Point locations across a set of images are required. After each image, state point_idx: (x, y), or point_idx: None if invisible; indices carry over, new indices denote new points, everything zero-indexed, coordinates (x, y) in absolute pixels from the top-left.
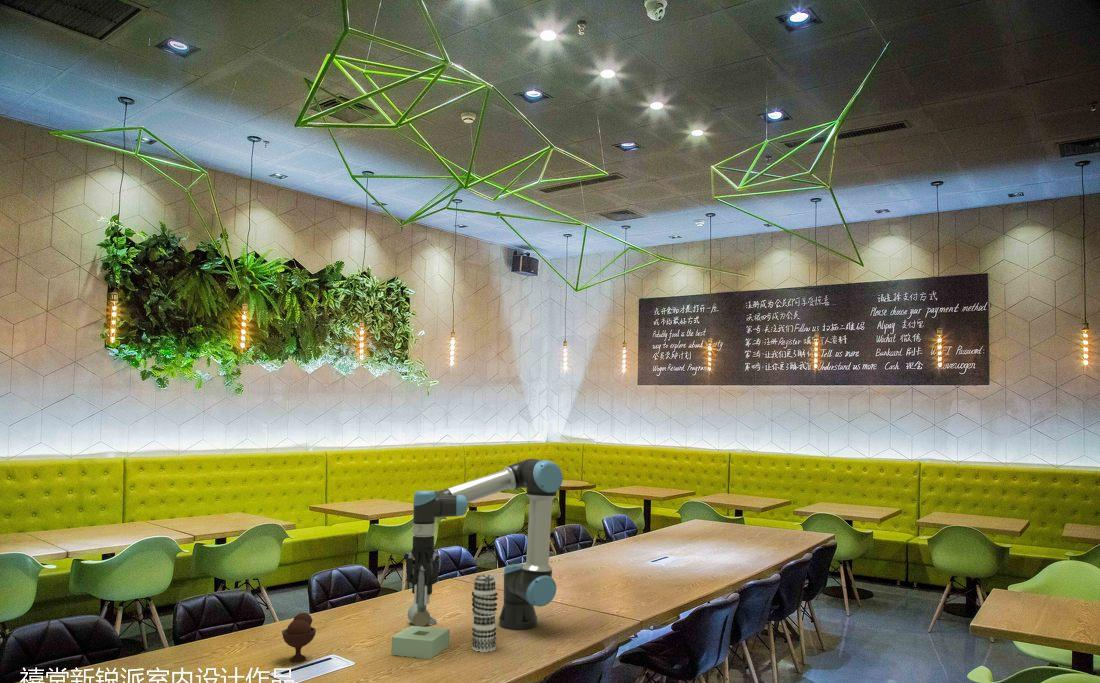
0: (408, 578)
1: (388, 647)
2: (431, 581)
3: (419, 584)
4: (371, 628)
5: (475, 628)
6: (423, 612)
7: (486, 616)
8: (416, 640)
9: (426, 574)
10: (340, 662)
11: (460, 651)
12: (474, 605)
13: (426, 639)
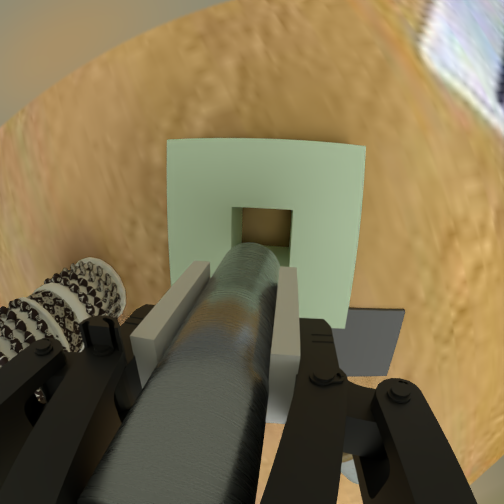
0: (410, 412)
1: (393, 233)
2: (67, 372)
3: (218, 347)
4: (469, 380)
5: (70, 291)
6: (343, 453)
7: (13, 300)
8: (241, 138)
9: (66, 439)
10: (460, 61)
11: (139, 248)
12: (24, 333)
13: (198, 150)
